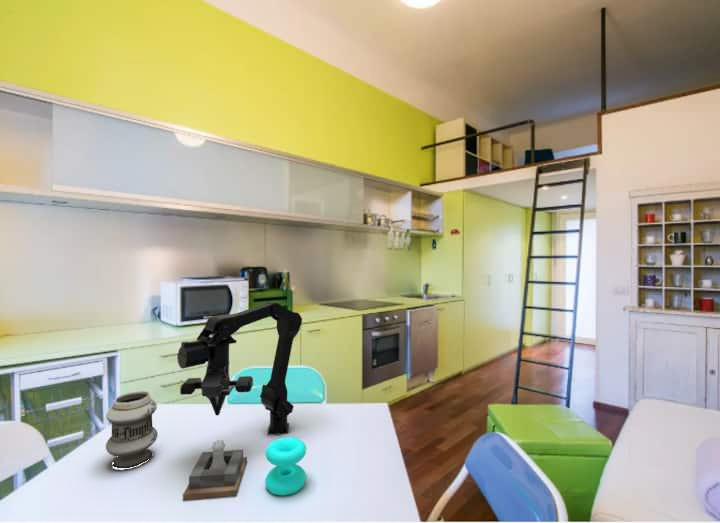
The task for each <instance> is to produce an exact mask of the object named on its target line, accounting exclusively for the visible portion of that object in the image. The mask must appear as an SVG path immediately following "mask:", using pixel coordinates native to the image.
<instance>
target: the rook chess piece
mask: <svg viewBox="0 0 720 523" xmlns="http://www.w3.org/2000/svg"><path fill="white" fill-rule="evenodd" d="M225 447H226V444H225V442H224V441H223V440H216V441H214V442H213V444H212V446H211V449H212V450H213V451H212V452H213V462H212V464H211V467H210V469H221V468H227V464H226V463H225V461H224V456H223V453H224V451H225V450H224V448H225Z"/></svg>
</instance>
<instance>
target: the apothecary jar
mask: <svg viewBox="0 0 720 523" xmlns="http://www.w3.org/2000/svg"><path fill="white" fill-rule="evenodd" d="M157 405H158V404H157V402H156V401H155V400H154V399H153V398H152V397H151V393H150V392H149V391H147V390H146V391H145V390H138V391H137V390H136V391H132V392H127V393H124V394H121V395H119V396H117V397H115V399H114V400H113V404H112V406H111V407H110V408H109V409H108V410H107V412H106V415H105V418H106V420H107V422H109V423H111V436H110V437H109V438H108V440H107V442H106V443H105V450H106V452H107V453H108V454H110V455H111V456H114V458H113V460H114V461H113V460H112V461H113V462H114V464H113V466H114V467H117V468H130V467H134V466H137V465H139V464H141V463H143V462H145V461H147V460H148V459H150V457H152V458H153V456H152V453H153V451H152V450H150V449H148V448H150V447H151V446H152V445H153V444H154V443H155V442H156V441H157V439H158V431H157V429H156V428H155V427H154V426H153V414H154V413H155V412H156V410H157V407H158V406H157ZM151 451H152V452H151ZM117 456H118V457H117ZM150 460H151V459H150Z"/></svg>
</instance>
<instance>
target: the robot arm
mask: <svg viewBox="0 0 720 523" xmlns="http://www.w3.org/2000/svg"><path fill="white" fill-rule="evenodd" d="M269 317H271V318H272V319H273V320H274V321H275V322H276V331H277V335H278V338H277V339H278V340H277V344H276V350H275V354H274V358H273V365H272V369H271V375H270V379H269V381H268V382H267V383H266V384H263V385H262V387H261V392H260V395H259V398H260V403H261V404H262V405H263V407H264V409H265V410H267V411H269V424H268V430H267V435H280V434H281V435H283V434H288V433H289V427H290V423H289V422H288V416H289V415H290V414H291V413H293V411H294V405H293V403H291V402H290V401H288V388H287V385H286V378H287V374H288V368H289V362H290V359H291V352H292V347H293V342H294V338H296V336H297V334H298V333H299V331H300V329H301V326H302V323H303V318H302V316H301V314H300V313H299V312H295V311H293V310H290V309H288V308H287V307H285V306H282V305H281V304H279V303H278V302H274V301H267V302H266V303H263V304H261V305H257V306H255V307H251V308H249V309H245V310H243V311H239V312H236V313H232V314H231V313H229V314H227V313H226V314H219V315H213V316H211V317H209V318H207V320H206V322H205V324H204V327H203V329H202V330H201V332H200V333H199V335H198V337H197V338H196V340H192V341H182V342H181V344H180V346H181V347H179V349H178V352H177V357H176V358H177V363H178V367H179V368H181V369H183V370H184V369H187V368H191V367H196V366H201V365H202V366H203V365H205V364H206V362H207V366H206V373H205V375H204V378H203V380H202V378H201V377H189V378H187V379H186V380H184V382H183V383H182V384H180V388H179V391H180V392H179V394H180V395H181V396H182V395H192V394H194V392H195V391H196V390H201V396H202V397H205V398H207V399H208V401H209V402H210V404H211V407H212V409H213V411H214V415H215V416H219V415H220V414H221V410H222V409H223V406H224V402H225V400H226V397H227V396H229V395H230V394H231V393H232V391H233V389H234V388H235V391H236V392H237V393H249V392H251V390H252V388H253V386H254V379H253V378H254V377H253V376H251V375H248V376H245V375H244V376H239V377H238V378H237V380H231V378H230V345H231V344H237V342H238V341H237V339H235V338H234V337H233V336H232V335H234V334H235V333H237V331H239V330H240V329H241V328H243V327H245V326H247V325H250V324H253V323H255V322H258V321H261V320H264V319H267V318H269Z"/></svg>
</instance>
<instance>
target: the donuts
mask: <svg viewBox="0 0 720 523" xmlns="http://www.w3.org/2000/svg"><path fill="white" fill-rule="evenodd" d="M306 453H307V447H306V443H305V442H304V441H303V440H302V439H301V438H298V437H291V436H289V437H288V436H285V437H280V438H277V439H275V440H274V441H271V443H270V444H268V446H267V448H266V450H265V457H266V459H267V461H268V462H269V463H270V464H272V465H273V466H274V467H273V468H271V469H270V470H269V472H268V473H267V475H266V476H265V482H264V483H265V487H266V489H267V490H268V491H269V492H270V493H271V494H274V495H276V496H277V495H278V496H288V495H289V496H290V495H292V494H295V493H297V492H298V491H300V490H301V489H302V488H303V486H304V484H305V483H306V479H307V474H306V472H305V470H304V469H303V467H302V466H300V465H299V463H300V462H301V461H302V460H303V459H304V457H305V456H306Z"/></svg>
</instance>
